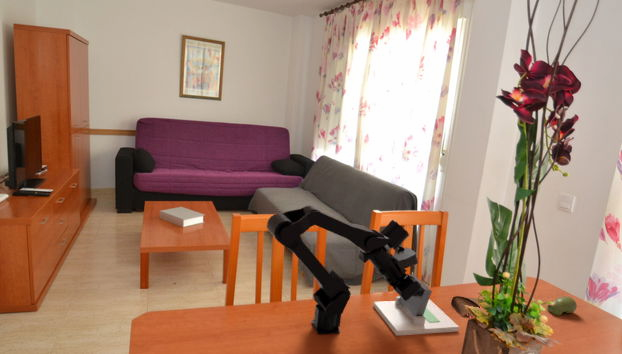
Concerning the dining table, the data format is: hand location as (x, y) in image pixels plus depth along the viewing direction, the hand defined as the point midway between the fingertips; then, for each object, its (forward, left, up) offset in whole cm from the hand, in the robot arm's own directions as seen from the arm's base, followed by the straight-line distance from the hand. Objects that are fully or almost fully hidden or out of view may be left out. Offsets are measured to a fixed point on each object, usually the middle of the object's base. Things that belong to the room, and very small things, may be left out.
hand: (411, 294), depth 123 cm
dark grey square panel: (0, 0, -5) cm, 6 cm away
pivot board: (+2, 0, -8) cm, 8 cm away
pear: (+57, -1, -8) cm, 58 cm away
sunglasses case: (+28, +1, -9) cm, 29 cm away
